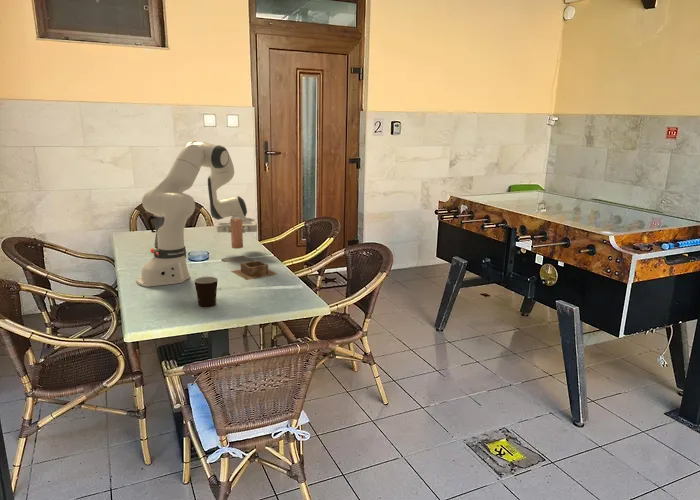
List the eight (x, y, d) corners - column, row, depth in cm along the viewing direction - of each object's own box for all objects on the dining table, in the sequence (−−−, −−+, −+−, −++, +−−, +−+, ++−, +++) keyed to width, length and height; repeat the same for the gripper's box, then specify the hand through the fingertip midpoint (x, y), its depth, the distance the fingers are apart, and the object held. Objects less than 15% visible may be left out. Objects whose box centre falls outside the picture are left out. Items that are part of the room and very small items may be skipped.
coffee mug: (212, 309, 199) (211, 284, 196) (191, 307, 200) (190, 282, 198) (225, 299, 210) (224, 275, 207) (205, 297, 211) (204, 273, 209)
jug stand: (246, 282, 232) (246, 271, 230) (230, 273, 244) (230, 262, 243) (278, 276, 241) (278, 265, 240) (261, 268, 253) (261, 257, 252)
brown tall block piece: (232, 245, 265) (230, 218, 262) (243, 245, 266) (242, 218, 263) (231, 249, 258) (229, 221, 254) (242, 249, 259) (241, 221, 255)
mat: (231, 265, 257) (231, 264, 256) (221, 260, 266) (221, 258, 266) (253, 262, 264) (253, 260, 264) (243, 256, 273) (243, 255, 273)
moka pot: (179, 245, 295) (177, 210, 290) (156, 250, 282) (154, 213, 277) (168, 242, 300) (166, 208, 295) (145, 248, 287) (142, 211, 282)
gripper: (217, 219, 271) (214, 225, 258) (257, 218, 274) (257, 224, 261) (217, 231, 273) (215, 237, 259) (257, 230, 276) (257, 236, 263)
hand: (236, 230), depth 260 cm, fingers closed on brown tall block piece, 6 cm apart
